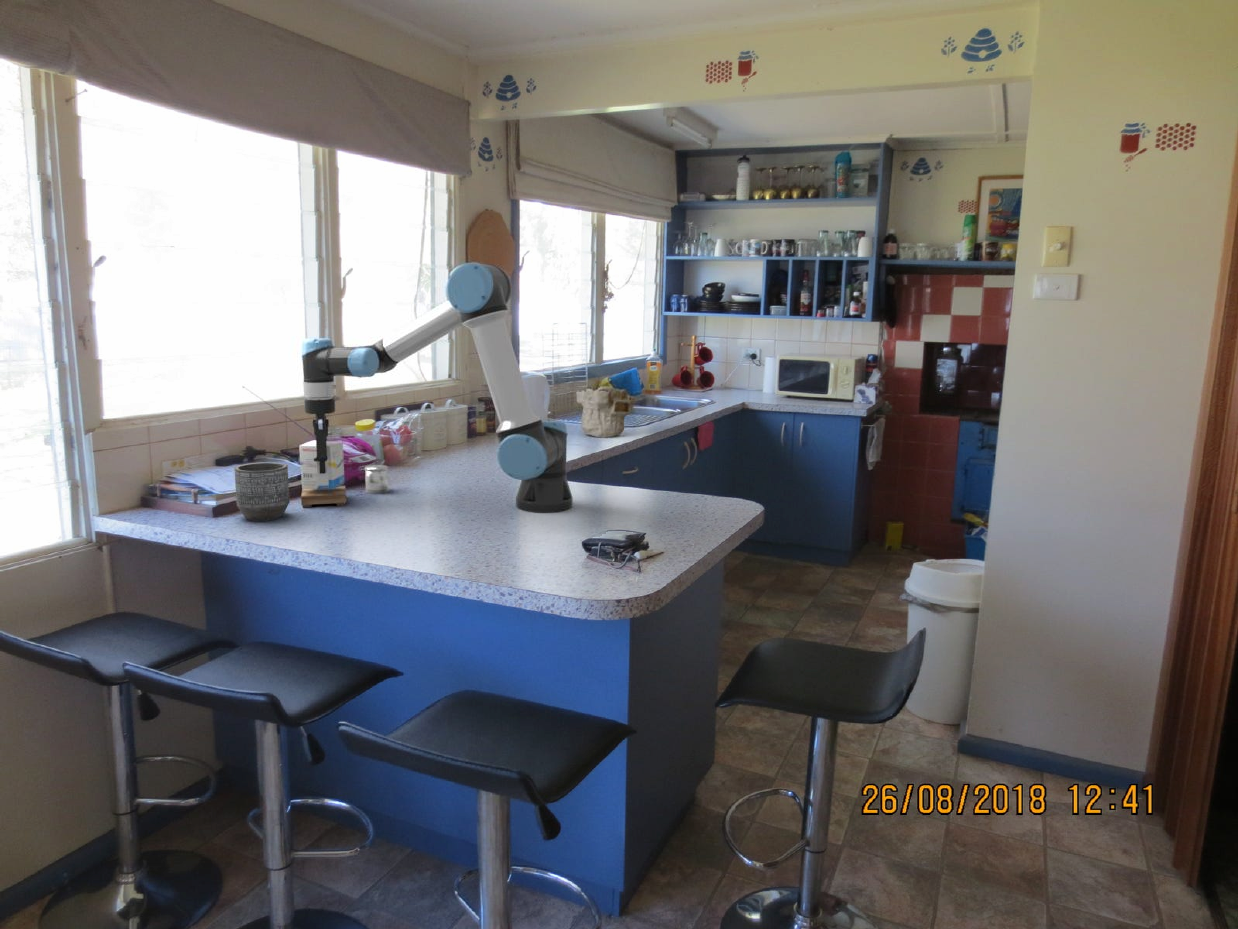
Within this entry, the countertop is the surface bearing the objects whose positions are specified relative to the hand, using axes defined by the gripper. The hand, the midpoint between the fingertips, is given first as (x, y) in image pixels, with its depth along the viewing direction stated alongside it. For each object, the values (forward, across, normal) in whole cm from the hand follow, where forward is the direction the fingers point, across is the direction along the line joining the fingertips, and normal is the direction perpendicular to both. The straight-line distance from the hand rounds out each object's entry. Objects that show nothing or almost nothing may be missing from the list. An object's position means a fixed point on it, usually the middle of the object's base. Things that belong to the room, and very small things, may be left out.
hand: (323, 481), depth 229 cm
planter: (+6, -13, +14) cm, 20 cm away
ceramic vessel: (+6, +98, -109) cm, 147 cm away
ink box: (+2, 0, 0) cm, 2 cm away
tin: (+6, +10, -14) cm, 18 cm away
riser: (+6, 0, 0) cm, 6 cm away
